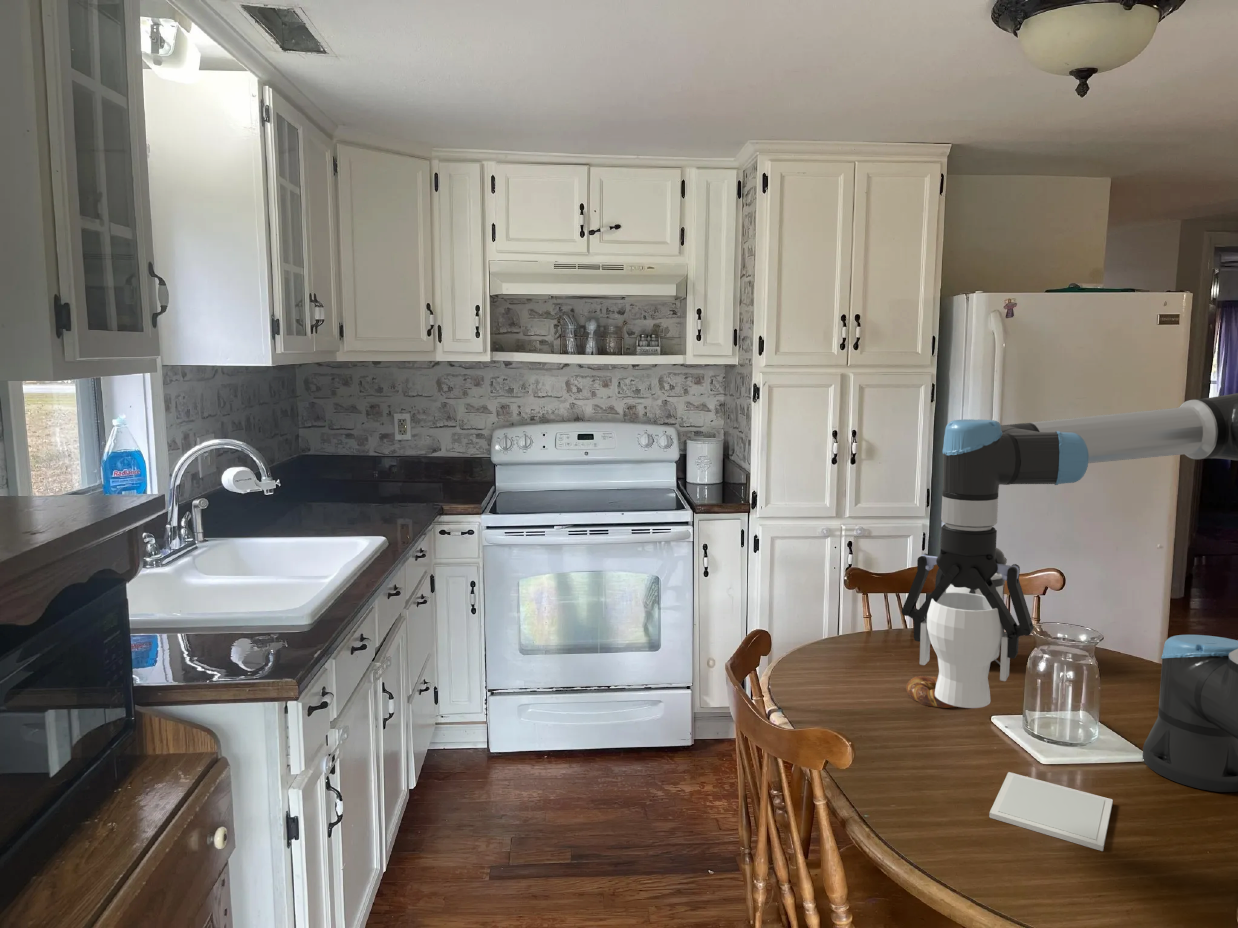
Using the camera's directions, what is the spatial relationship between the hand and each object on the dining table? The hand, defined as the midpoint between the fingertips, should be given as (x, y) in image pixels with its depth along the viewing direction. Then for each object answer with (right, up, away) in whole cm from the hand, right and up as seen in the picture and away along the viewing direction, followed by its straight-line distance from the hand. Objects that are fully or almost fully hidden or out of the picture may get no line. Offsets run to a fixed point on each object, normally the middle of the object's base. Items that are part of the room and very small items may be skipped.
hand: (963, 669), depth 121 cm
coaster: (+15, -23, +4) cm, 28 cm away
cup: (0, -5, +1) cm, 5 cm away
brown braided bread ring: (+14, -18, +46) cm, 52 cm away
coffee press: (+29, -15, +68) cm, 75 cm away
